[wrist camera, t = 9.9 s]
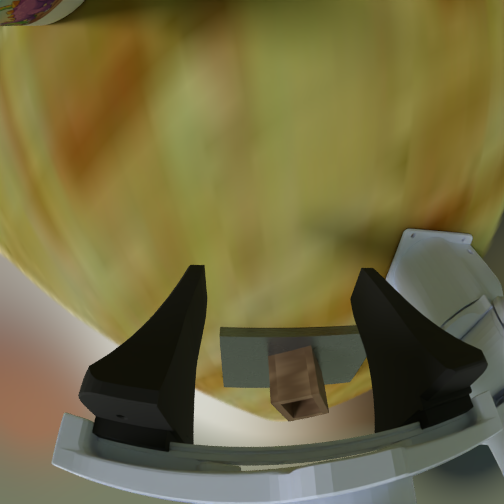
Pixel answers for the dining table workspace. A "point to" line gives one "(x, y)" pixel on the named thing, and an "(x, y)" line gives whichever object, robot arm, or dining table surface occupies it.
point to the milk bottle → (35, 11)
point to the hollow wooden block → (297, 384)
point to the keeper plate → (283, 340)
